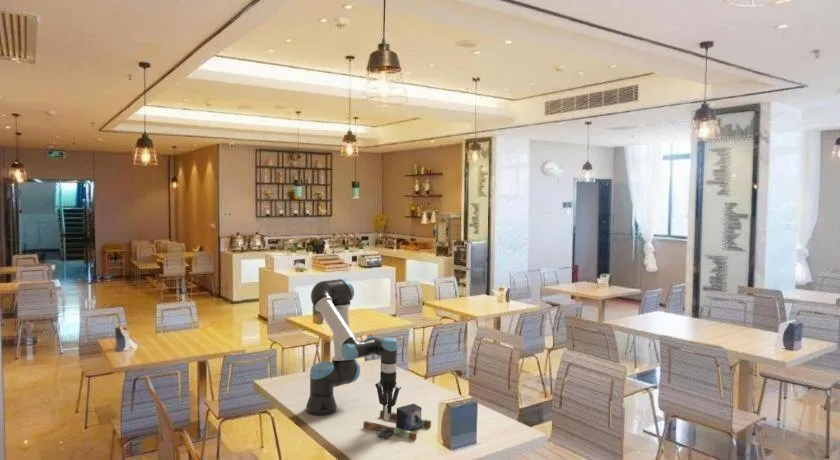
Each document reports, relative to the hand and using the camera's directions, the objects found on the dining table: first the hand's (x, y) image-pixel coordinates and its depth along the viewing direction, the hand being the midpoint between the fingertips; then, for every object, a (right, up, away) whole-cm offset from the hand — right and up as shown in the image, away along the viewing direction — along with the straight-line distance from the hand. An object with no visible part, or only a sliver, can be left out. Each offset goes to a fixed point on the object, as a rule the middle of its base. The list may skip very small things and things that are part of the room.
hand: (386, 419), depth 276 cm
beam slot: (+5, -3, -3) cm, 6 cm away
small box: (+10, -4, -4) cm, 12 cm away
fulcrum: (0, -4, -13) cm, 14 cm away
